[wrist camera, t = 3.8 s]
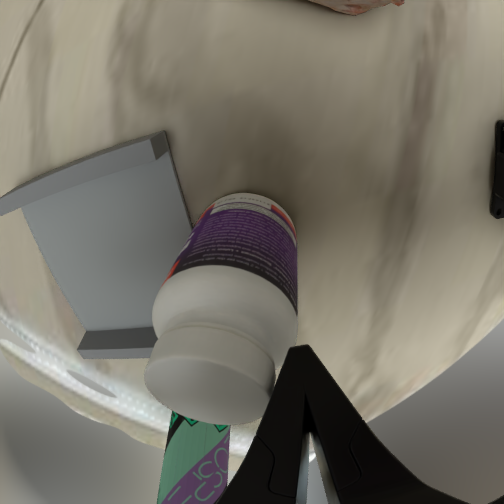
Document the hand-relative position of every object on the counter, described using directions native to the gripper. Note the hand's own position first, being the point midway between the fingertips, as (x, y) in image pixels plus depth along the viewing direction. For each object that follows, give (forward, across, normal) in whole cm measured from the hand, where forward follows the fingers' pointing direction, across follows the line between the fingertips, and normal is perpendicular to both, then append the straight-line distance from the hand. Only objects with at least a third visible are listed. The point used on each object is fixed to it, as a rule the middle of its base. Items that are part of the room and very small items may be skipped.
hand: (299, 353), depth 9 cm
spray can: (+9, +10, +17) cm, 21 cm away
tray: (+8, +10, 0) cm, 13 cm away
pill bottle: (+8, +2, 0) cm, 9 cm away
